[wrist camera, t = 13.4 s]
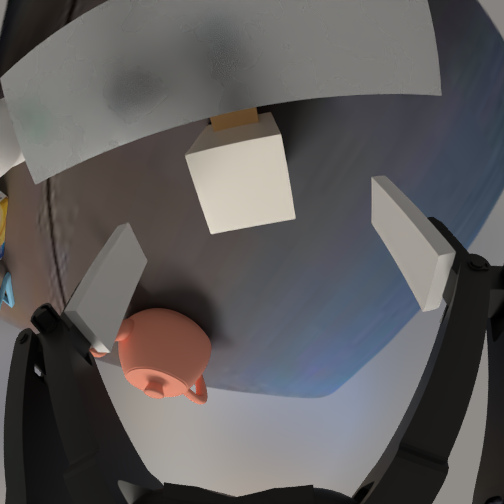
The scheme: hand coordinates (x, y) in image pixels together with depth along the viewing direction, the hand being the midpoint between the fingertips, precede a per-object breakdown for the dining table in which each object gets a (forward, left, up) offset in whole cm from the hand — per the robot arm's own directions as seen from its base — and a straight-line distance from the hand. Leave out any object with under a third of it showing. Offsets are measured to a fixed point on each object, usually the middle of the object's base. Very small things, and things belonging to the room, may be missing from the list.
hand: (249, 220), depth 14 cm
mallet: (-8, 0, -9) cm, 13 cm away
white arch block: (-9, 0, -10) cm, 13 cm away
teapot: (+19, -16, -10) cm, 27 cm away
